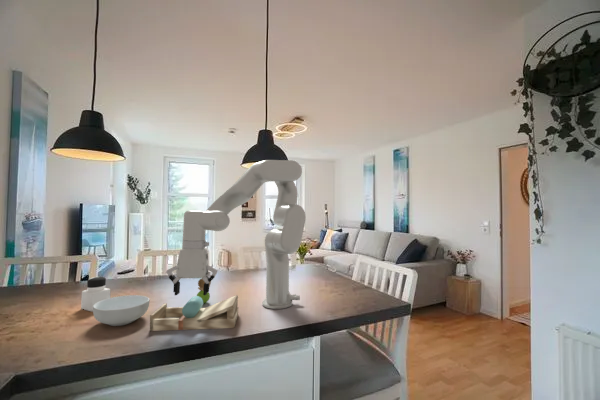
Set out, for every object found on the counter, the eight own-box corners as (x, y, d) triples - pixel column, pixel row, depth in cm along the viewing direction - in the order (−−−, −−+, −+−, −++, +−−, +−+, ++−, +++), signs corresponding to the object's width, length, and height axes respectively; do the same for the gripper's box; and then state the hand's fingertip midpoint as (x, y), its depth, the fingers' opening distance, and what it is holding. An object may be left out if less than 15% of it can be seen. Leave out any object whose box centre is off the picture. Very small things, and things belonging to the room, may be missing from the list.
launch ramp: (238, 314, 107) (238, 294, 107) (233, 327, 95) (234, 305, 95) (163, 317, 104) (164, 296, 104) (149, 330, 92) (150, 307, 92)
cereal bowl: (106, 336, 88) (107, 313, 89) (83, 324, 97) (84, 303, 97) (158, 318, 103) (159, 299, 103) (134, 310, 111) (134, 292, 112)
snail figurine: (207, 305, 117) (208, 276, 117) (193, 304, 118) (194, 275, 119) (214, 301, 122) (214, 273, 123) (200, 300, 123) (201, 273, 124)
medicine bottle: (110, 306, 116) (111, 276, 116) (91, 311, 109) (92, 280, 110) (99, 303, 119) (100, 275, 119) (80, 309, 112) (81, 278, 113)
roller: (203, 309, 104) (203, 295, 104) (197, 317, 96) (197, 302, 96) (188, 310, 103) (189, 296, 103) (181, 318, 95) (182, 303, 95)
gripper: (220, 244, 105) (218, 291, 104) (172, 243, 103) (169, 291, 102) (216, 246, 97) (214, 297, 96) (164, 246, 96) (161, 297, 95)
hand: (191, 294), depth 99 cm, fingers open, 9 cm apart
